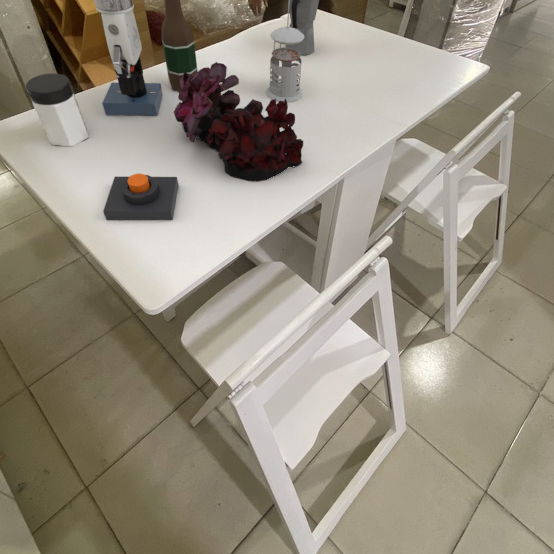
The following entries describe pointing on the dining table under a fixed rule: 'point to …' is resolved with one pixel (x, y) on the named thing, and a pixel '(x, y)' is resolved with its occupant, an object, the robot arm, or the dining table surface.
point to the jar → (57, 109)
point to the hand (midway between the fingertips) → (132, 83)
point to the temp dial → (138, 82)
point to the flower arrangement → (237, 126)
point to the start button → (138, 183)
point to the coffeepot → (303, 23)
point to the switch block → (142, 200)
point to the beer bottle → (177, 44)
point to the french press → (285, 65)
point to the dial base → (133, 101)
